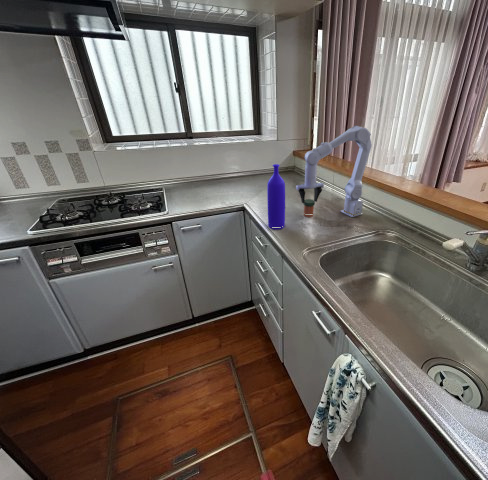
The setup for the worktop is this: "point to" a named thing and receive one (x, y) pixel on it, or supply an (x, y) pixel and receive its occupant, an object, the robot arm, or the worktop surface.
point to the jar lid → (309, 202)
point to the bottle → (276, 200)
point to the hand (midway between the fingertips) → (309, 201)
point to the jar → (308, 210)
